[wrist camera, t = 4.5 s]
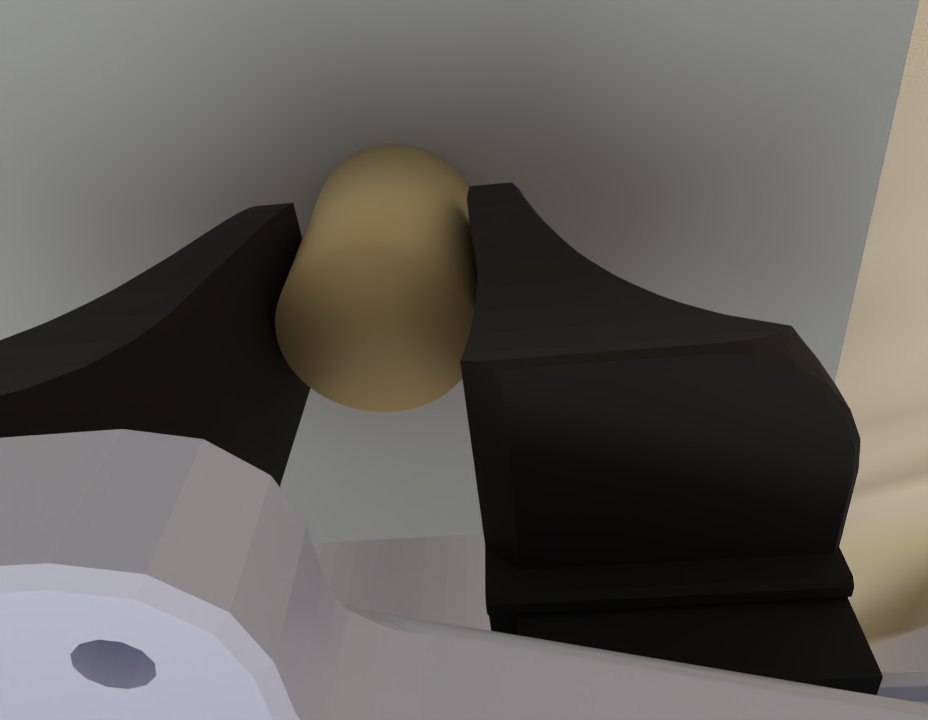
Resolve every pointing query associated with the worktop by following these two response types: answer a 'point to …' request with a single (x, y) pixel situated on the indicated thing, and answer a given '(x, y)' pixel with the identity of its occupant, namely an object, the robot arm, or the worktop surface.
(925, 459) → the worktop surface
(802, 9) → the lid
